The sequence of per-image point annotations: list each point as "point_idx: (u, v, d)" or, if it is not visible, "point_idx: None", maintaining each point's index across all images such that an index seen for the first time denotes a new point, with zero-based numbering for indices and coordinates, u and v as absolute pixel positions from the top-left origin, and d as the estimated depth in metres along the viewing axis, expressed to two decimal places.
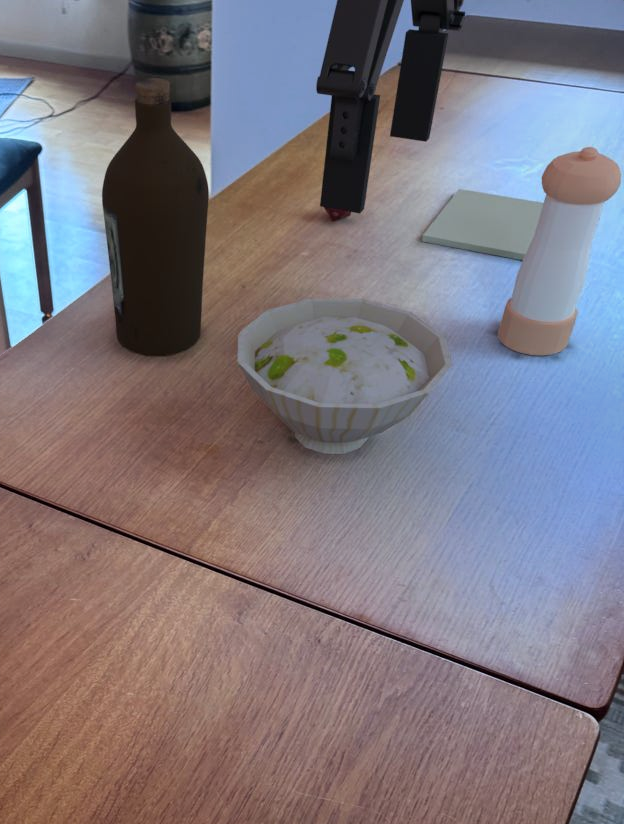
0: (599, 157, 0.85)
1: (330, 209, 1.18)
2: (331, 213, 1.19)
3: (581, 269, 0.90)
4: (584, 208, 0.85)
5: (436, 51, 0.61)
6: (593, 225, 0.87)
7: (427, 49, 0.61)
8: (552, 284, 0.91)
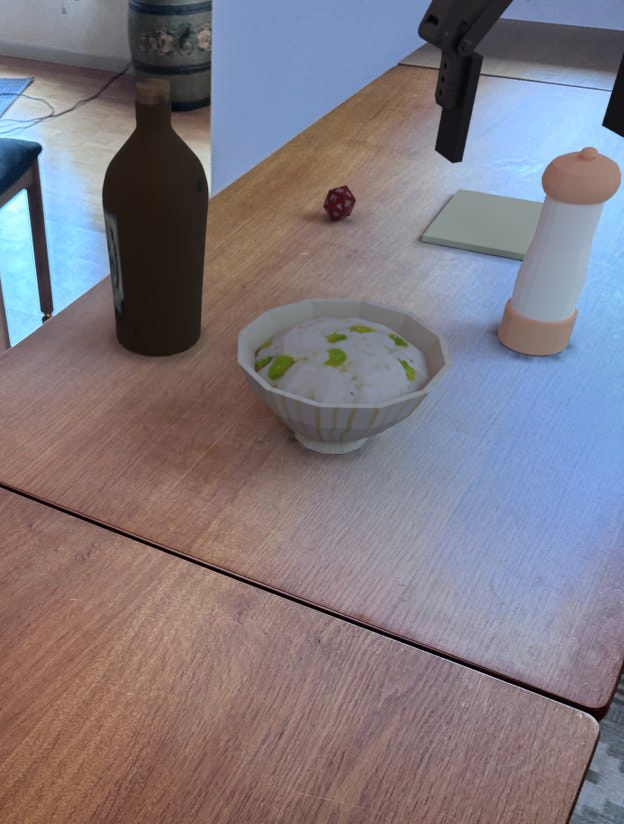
0: (599, 157, 0.85)
1: (330, 209, 1.18)
2: (331, 213, 1.19)
3: (581, 269, 0.90)
4: (584, 208, 0.85)
5: None
6: (593, 225, 0.87)
7: None
8: (552, 284, 0.91)
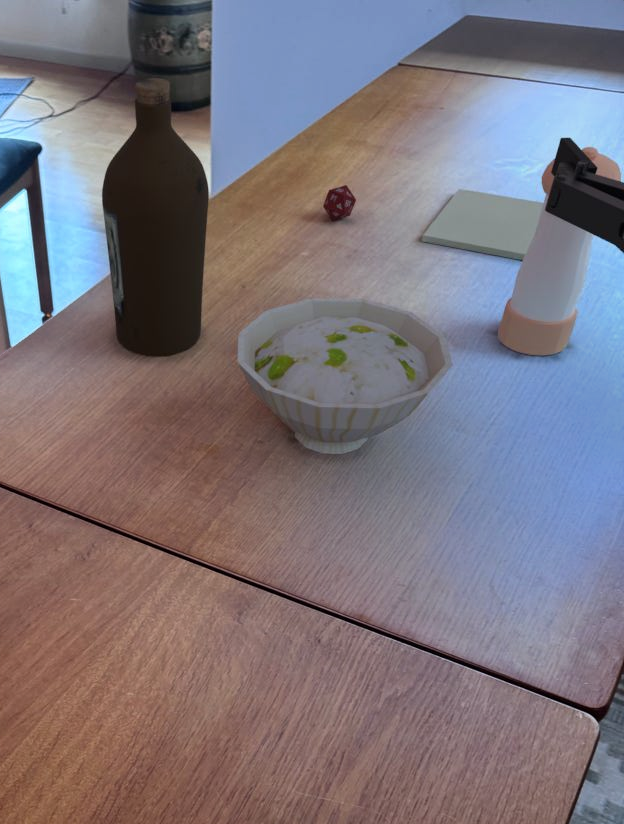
0: (599, 157, 0.85)
1: (330, 209, 1.18)
2: (331, 213, 1.19)
3: (581, 269, 0.90)
4: None
5: None
6: None
7: None
8: (552, 284, 0.91)
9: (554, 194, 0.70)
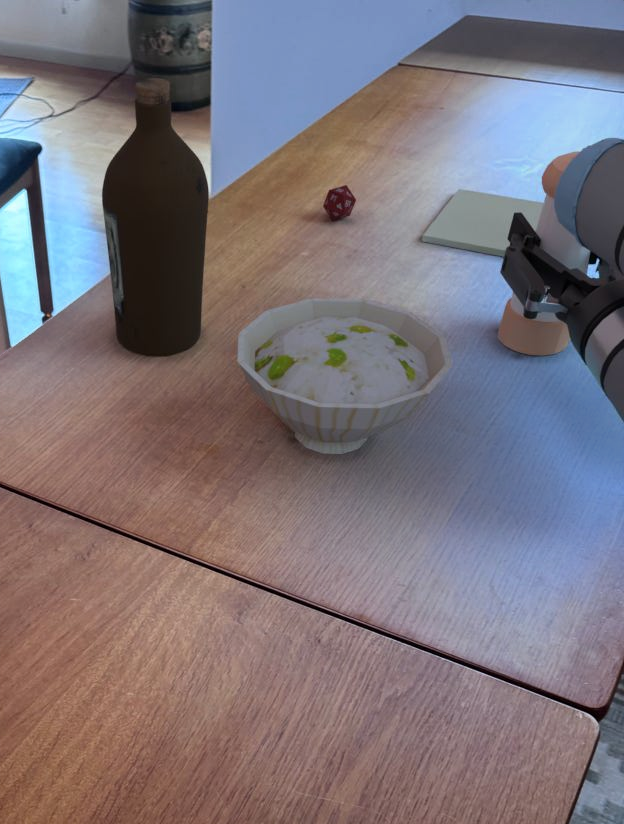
0: None
1: (330, 209, 1.18)
2: (331, 213, 1.19)
3: (581, 269, 0.90)
4: None
5: None
6: None
7: None
8: None
9: (505, 260, 0.89)
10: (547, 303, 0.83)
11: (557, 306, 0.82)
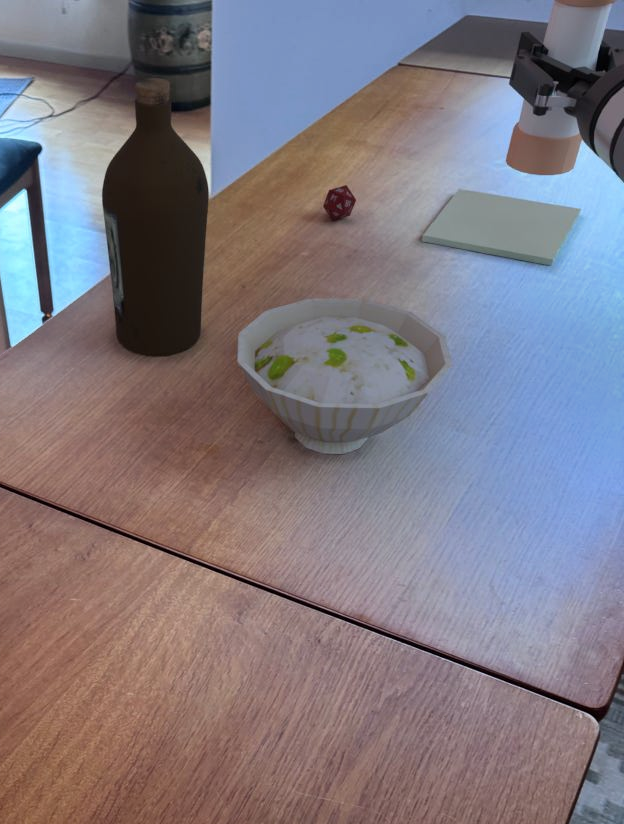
0: None
1: (330, 209, 1.18)
2: (331, 213, 1.19)
3: None
4: (591, 11, 0.88)
5: None
6: (599, 32, 0.90)
7: None
8: None
9: (513, 69, 0.91)
10: (556, 97, 0.85)
11: (566, 99, 0.85)
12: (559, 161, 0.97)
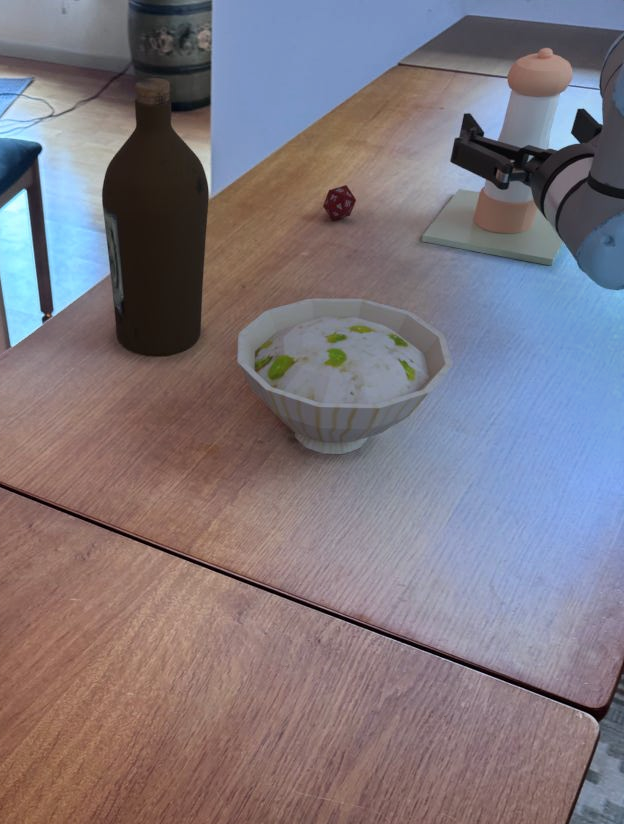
0: (554, 57, 1.03)
1: (330, 209, 1.18)
2: (331, 213, 1.19)
3: None
4: (542, 99, 1.03)
5: None
6: (550, 116, 1.05)
7: None
8: None
9: (455, 150, 1.05)
10: (517, 173, 0.99)
11: (525, 174, 0.99)
12: (518, 222, 1.13)
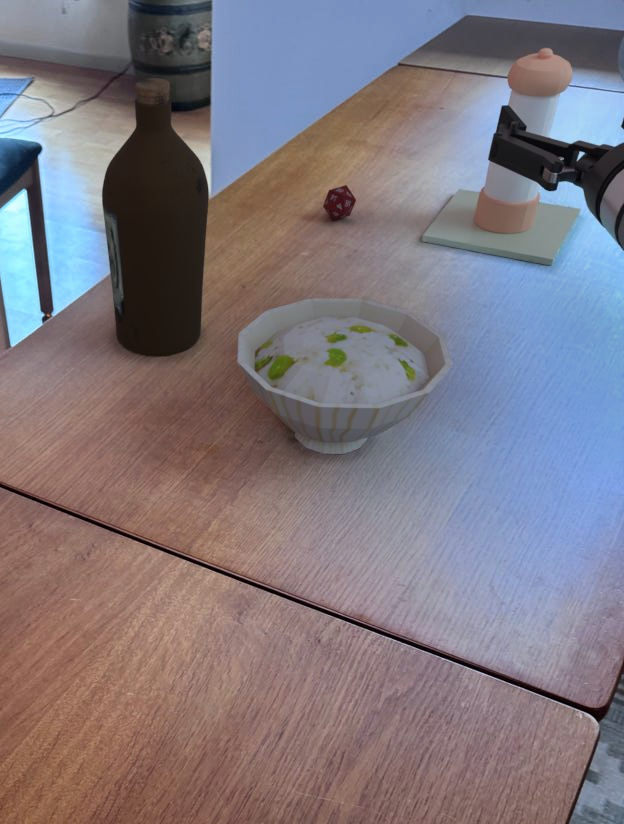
0: (554, 57, 1.03)
1: (330, 209, 1.18)
2: (331, 213, 1.19)
3: None
4: (542, 99, 1.03)
5: None
6: (550, 116, 1.05)
7: None
8: None
9: (494, 147, 0.93)
10: (568, 172, 0.87)
11: (576, 173, 0.87)
12: (518, 222, 1.13)
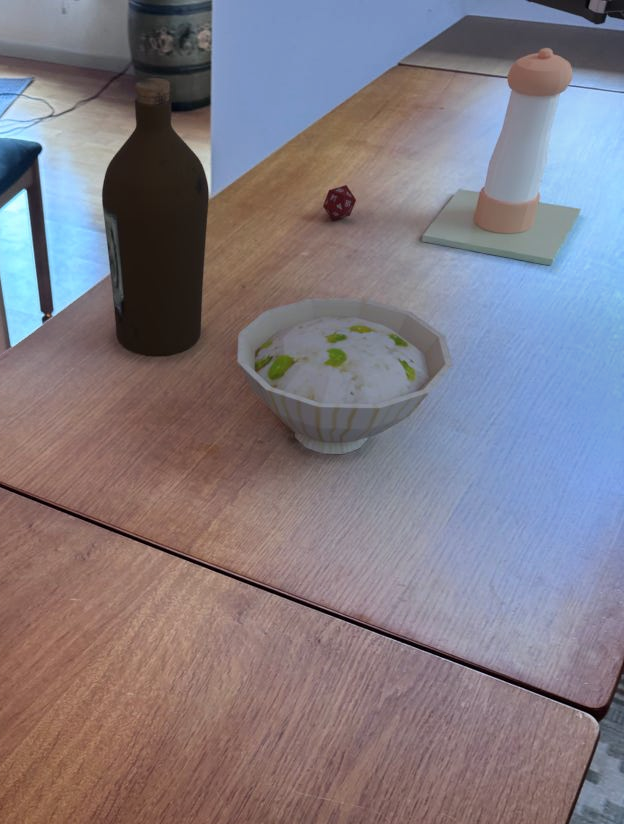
0: (554, 57, 1.03)
1: (330, 209, 1.18)
2: (331, 213, 1.19)
3: (541, 155, 1.08)
4: (542, 99, 1.03)
5: None
6: (550, 116, 1.05)
7: None
8: (517, 168, 1.09)
9: None
10: (618, 0, 0.77)
11: None
12: (518, 222, 1.13)
